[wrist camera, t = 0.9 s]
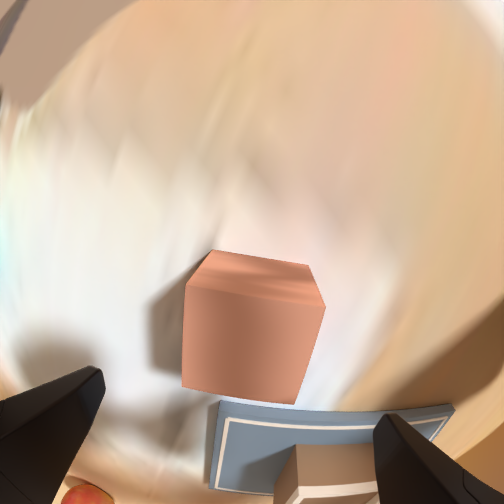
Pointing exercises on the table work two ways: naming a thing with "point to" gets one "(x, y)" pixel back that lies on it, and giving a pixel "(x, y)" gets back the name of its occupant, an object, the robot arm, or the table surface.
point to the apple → (86, 496)
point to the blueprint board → (277, 442)
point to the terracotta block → (249, 327)
